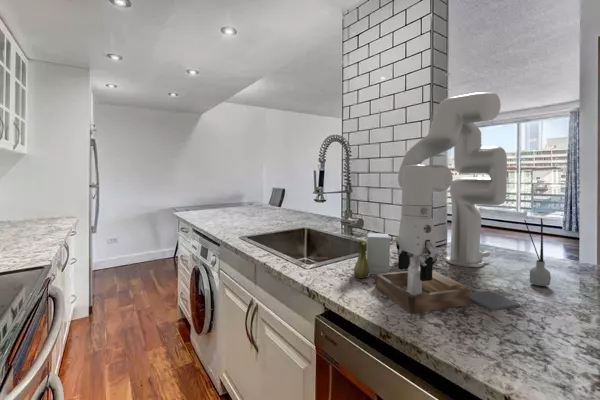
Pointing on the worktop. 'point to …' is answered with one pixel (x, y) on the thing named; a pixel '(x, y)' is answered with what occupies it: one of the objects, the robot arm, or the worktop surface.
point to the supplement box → (378, 253)
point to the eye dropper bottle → (414, 276)
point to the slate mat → (492, 300)
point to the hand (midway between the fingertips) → (414, 274)
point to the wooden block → (440, 283)
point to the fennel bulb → (361, 262)
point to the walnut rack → (419, 302)
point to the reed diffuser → (539, 266)
